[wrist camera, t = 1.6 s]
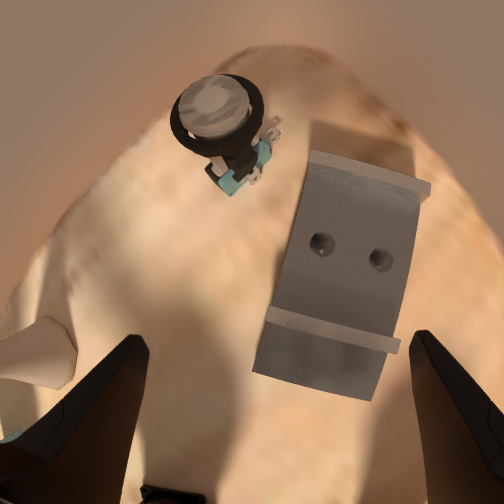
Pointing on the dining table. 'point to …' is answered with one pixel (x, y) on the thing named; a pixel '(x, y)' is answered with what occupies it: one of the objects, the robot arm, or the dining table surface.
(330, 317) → the bracket
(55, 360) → the flask
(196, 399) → the dining table surface
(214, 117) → the push button
